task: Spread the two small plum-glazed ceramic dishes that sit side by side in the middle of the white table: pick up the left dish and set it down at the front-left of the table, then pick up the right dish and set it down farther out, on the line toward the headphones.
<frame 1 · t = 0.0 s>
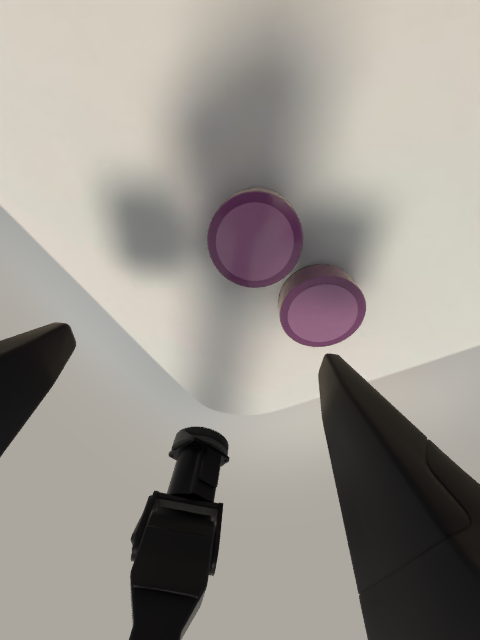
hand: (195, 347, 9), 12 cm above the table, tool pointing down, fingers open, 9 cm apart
dish b: (255, 235, 19), on the table
dish a: (316, 300, 21), on the table
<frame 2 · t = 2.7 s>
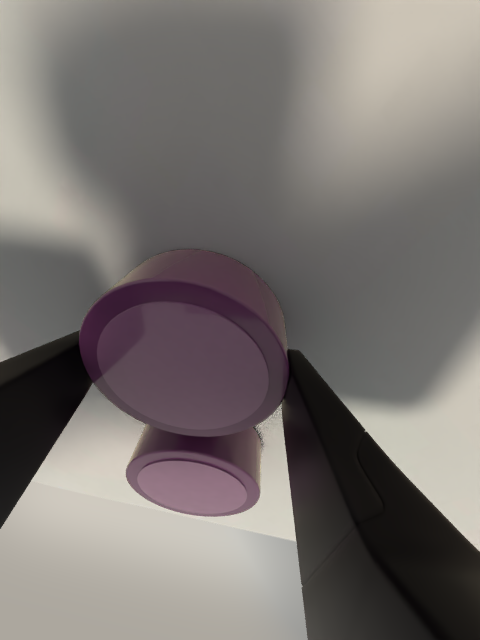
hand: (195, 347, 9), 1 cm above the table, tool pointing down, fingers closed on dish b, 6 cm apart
dish b: (201, 330, 9), on the table, touching gripper
dish a: (203, 440, 14), on the table
when the fingers open (1 cm above the table, at t = 8.1 s): dish b stays where it is, on the table.
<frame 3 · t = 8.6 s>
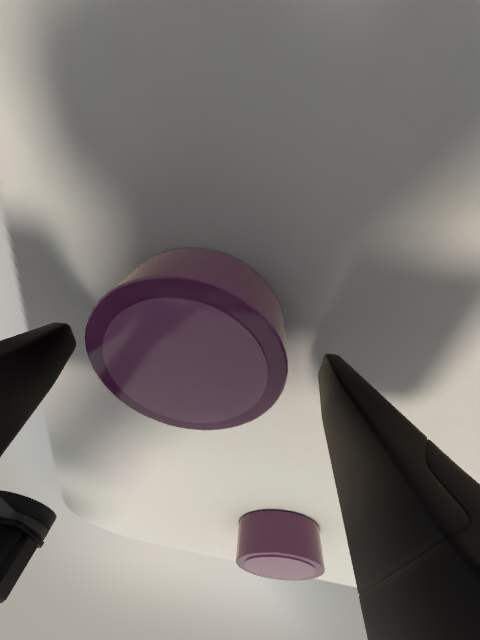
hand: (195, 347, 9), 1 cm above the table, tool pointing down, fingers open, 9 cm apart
dish b: (202, 327, 10), on the table
dish a: (278, 526, 20), on the table
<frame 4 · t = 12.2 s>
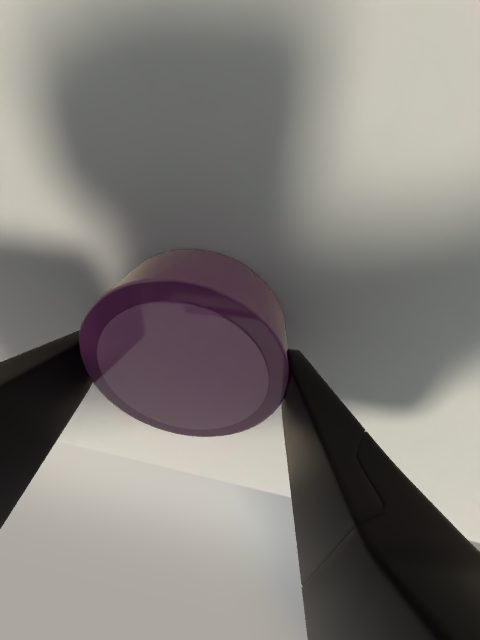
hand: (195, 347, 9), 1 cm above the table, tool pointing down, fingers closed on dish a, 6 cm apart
dish a: (201, 330, 10), on the table, touching gripper
when the fingers open (1 cm above the table, at t = 17.2 s): dish a stays where it is, on the table.
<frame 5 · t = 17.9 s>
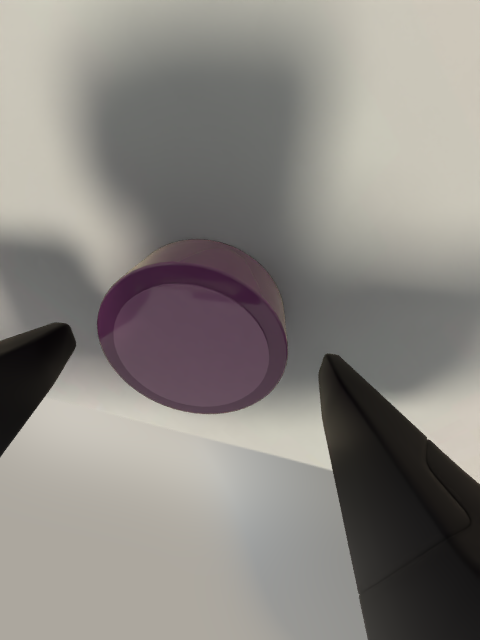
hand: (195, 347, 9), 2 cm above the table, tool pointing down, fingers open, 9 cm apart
dish a: (206, 316, 10), on the table
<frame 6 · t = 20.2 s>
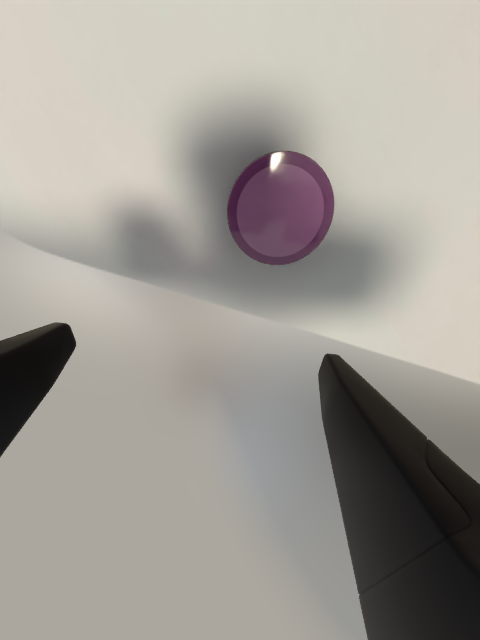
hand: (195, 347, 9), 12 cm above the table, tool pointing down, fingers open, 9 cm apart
dish a: (277, 208, 17), on the table
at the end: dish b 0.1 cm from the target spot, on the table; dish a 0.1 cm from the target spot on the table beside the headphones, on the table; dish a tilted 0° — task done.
